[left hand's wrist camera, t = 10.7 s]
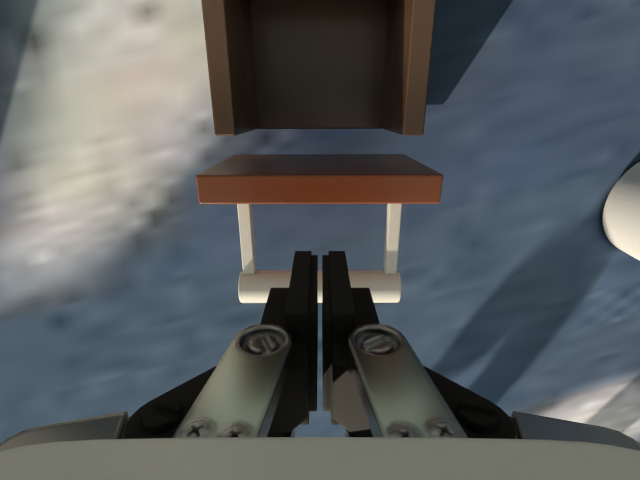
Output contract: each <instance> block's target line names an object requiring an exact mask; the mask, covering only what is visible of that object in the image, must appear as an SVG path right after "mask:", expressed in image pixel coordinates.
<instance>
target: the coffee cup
mask: <svg viewBox="0 0 640 480" xmlns="http://www.w3.org/2000/svg"><path fill="white" fill-rule="evenodd" d="M603 227H604V231H605V234H606V236H607V238H608V239H609V241H610V242H611V243H612V244H613V245H614V246H616V247H617V248H618V249H620V250H622V251H624V252H625V253H627V254H629V255H631V256H632V257H634V258H636V259H638V260H639V261H640V162H638V163H637V164H635V165H634V166H633V167H632V168H630V169H629V170H628V171H627V172H626V173H625V174H624V175H623V176H622V177H621V178H620V179H619V180H618V182H617V183H616V184H615V186H614V187H613V189H612V190H611V192H610V194H609V196H608V198H607V200H606V203H605V206H604V211H603Z"/></svg>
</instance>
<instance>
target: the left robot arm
mask: <svg viewBox="0 0 640 480" xmlns="http://www.w3.org/2000/svg"><path fill="white" fill-rule="evenodd" d="M317 346H318V264H317V255H311V251H295V256H294V262H293V268H292V273H291V279H290V285H289V288H271V289H270V292H269V295H268V299H267V302H266V306H265V310H264V313H263V317H262V320H261V324H258V325H253V326H250V327H248V328H245V329H244V330H242V331H241V332H239V333H238V334H237V335H236V337H235V338H234V339H233V341H232V343H231V344H230V346H229V347H228V349H227V351H226V352H225V354H224V355H223V357H222V359H221V360H220V362H219V363H218V365H217V366H215V367H213V368H212V369H210V370H208V371H206V372H204V373H202V374H200V375H198V376H197V377H195V378H193V379H191V380H189V381H187V382H185V383H183V384H181V385H180V386H178V387H176V388H174V389H172V390H170V391H168V392H166V393H165V394H163V395H161V396H159V397H157V398H155V399H153V400H151V401H150V402H148V403H147V404H145V405H144V406H142V407H140V408H139V409H138V410H137V411H136V412H135V413H134V414H133V415H132V416H131V417H128V413H127V411H125V412H119V413H114V414H108V415H102V416H97V417H91V418H85V419H80V420H74V421H68V422H63V423H57V424H51V425H46V426H40V427H35V428H31V429H28V430H25V431H21V432H19V433H17V434H15V435H14V436H12V437H10V438H8V439H6V440H5V441H3V442H2V443H1V444H0V480H640V444H639V443H638V442H637V441H635V440H634V439H632V438H630V437H628V436H626V435H625V434H623V433H621V432H619V431H615V430H612V429H609V428H605V427H600V426H594V425H589V424H583V423H577V422H572V421H566V420H560V419H555V418H549V417H543V416H538V415H532V414H526V413H521V412H515V411H513V413H512V417H509V416H508V415H507V414H506V413H505V412H504V411H503V410H502V409H501V408H500V407H498V406H496V405H495V404H493V403H492V402H490V401H489V400H487V399H485V398H483V397H481V396H479V395H477V394H475V393H474V392H472V391H470V390H468V389H466V388H464V387H462V386H460V385H459V384H457V383H455V382H453V381H451V380H449V379H447V378H445V377H443V376H442V375H440V374H438V373H436V372H434V371H432V370H430V369H428V368H427V367H425V366H423V365H422V363H421V362H420V360H419V359H418V357H417V355H416V354H415V352H414V351H413V349H412V347H411V346H410V344H409V343H408V341H407V339H406V338H405V337H404V335H403V334H402V333H401V332H399V331H398V330H396V329H395V328H392V327H390V326H387V325H382V324H379V320H378V317H377V313H376V310H375V306H374V302H373V299H372V295H371V292H370V289H369V288H351V285H350V279H349V273H348V268H347V262H346V256H345V251H329V255H323V264H322V347H323V411H331V424H341V425H342V426H343V427H345V437H295V427H297V426H298V425H299V424H309V411H317Z"/></svg>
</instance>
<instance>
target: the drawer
mask: <svg viewBox="0 0 640 480" xmlns="http://www.w3.org/2000/svg"><path fill="white" fill-rule="evenodd" d="M201 1H202V10H203V20H204V30H205V40H206V50H207V60H208V70H209V80H210V90H211V100H212V109H213V119H214V129H215V135H216V136H234V135H238V134H241V133H245V132H248V131H251V130H255V129H372V128H382V129H385V130H389V131H392V132H395V133H399V134H402V135H423V132H424V122H425V111H426V101H427V90H428V80H429V69H430V58H431V48H432V37H433V27H434V16H435V6H436V0H201ZM442 181H443V175H442V174H440V173H438V172H436V171H435V170H433V169H431V168H429V167H427V166H425V165H423V164H421V163H419V162H417V161H415V160H414V159H412V158H410V157H408V156H406V155H404V154H340V155H234V156H232V157H230V158H228V159H226V160H224V161H223V162H221V163H219V164H217V165H215V166H213V167H211V168H209V169H207V170H205V171H203V172H202V173H200V174H198V175H196V184H197V192H198V200H199V203H200V204H237V207H238V219H239V230H240V242H241V254H242V265H243V271H241V273H240V276H239V283H238V293H239V299H240V302H242V303H266V302H267V299H268V295H269V292H270V289H271V288H289V285H290V279H291V273H292V270H256V259H255V245H254V231H253V216H252V204H387V220H386V235H385V250H384V265H383V269H384V270H348V273H349V279H350V285H351V288H369V289H370V292H371V295H372V299H373V302H374V303H387V302H399V301H400V297H401V278H400V274H399V272H398V271H397V259H398V246H399V234H400V221H401V208H402V204H436V203H440V198H441V189H442ZM318 303H322V270H318Z"/></svg>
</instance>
